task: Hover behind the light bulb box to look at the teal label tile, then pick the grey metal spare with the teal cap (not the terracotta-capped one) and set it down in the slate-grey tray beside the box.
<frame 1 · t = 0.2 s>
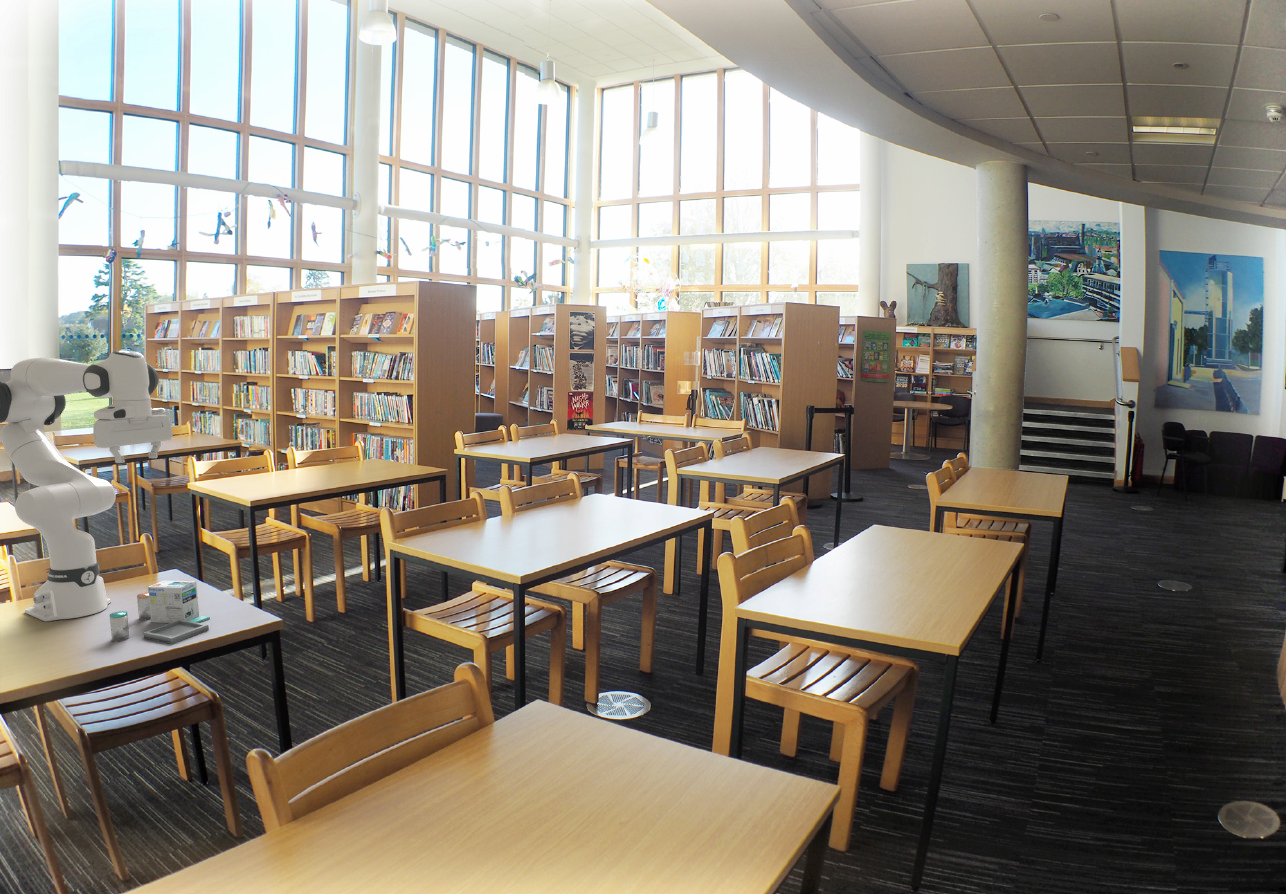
hand: (137, 460, 216), 47 cm above the table, fingers open, 8 cm apart
tray: (176, 633, 215), on the table
label tile: (198, 620, 225), on the table
light bulb box: (175, 620, 227), on the table
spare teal: (120, 638, 212), on the table
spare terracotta: (147, 617, 228), on the table
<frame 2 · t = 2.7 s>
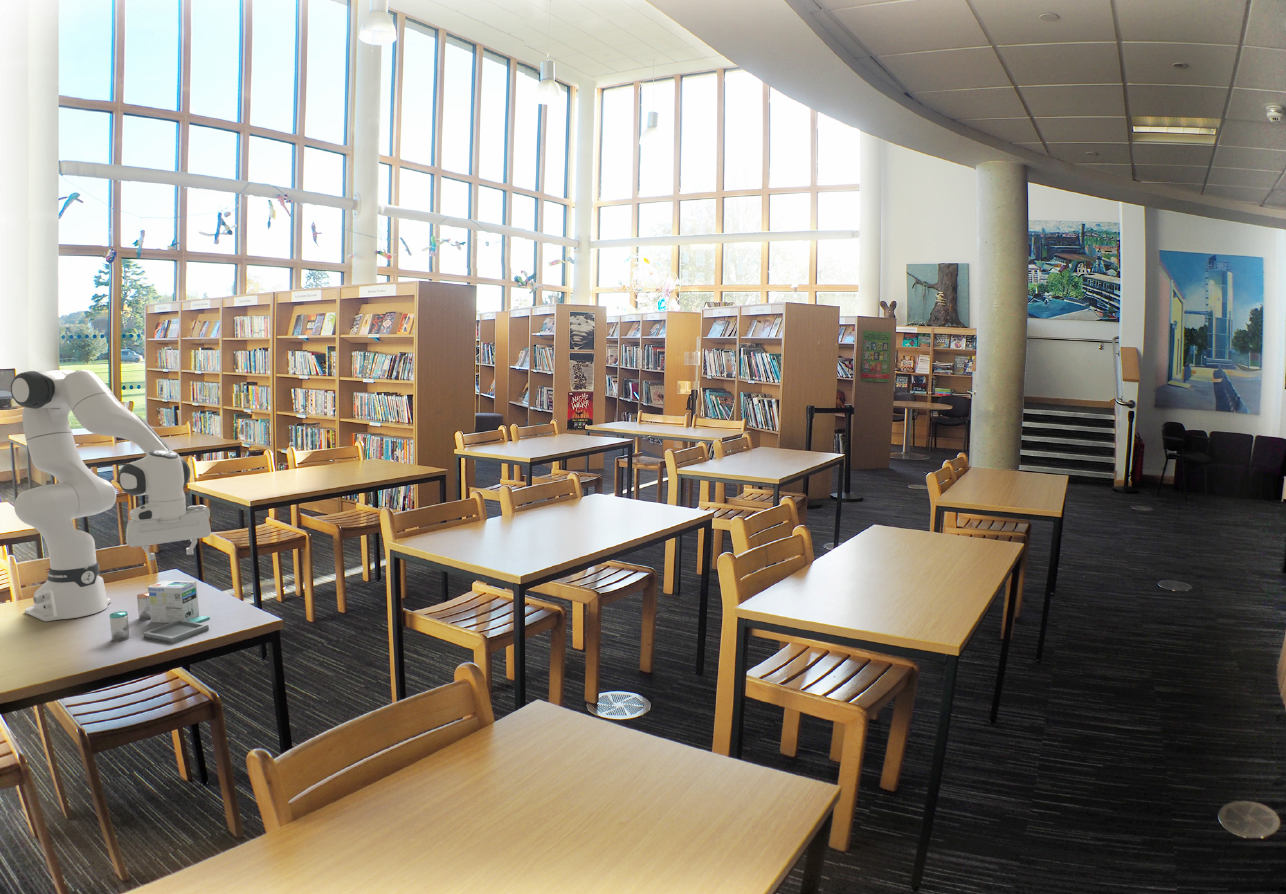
hand: (171, 557, 219), 20 cm above the table, fingers open, 8 cm apart
nothing on the table moved.
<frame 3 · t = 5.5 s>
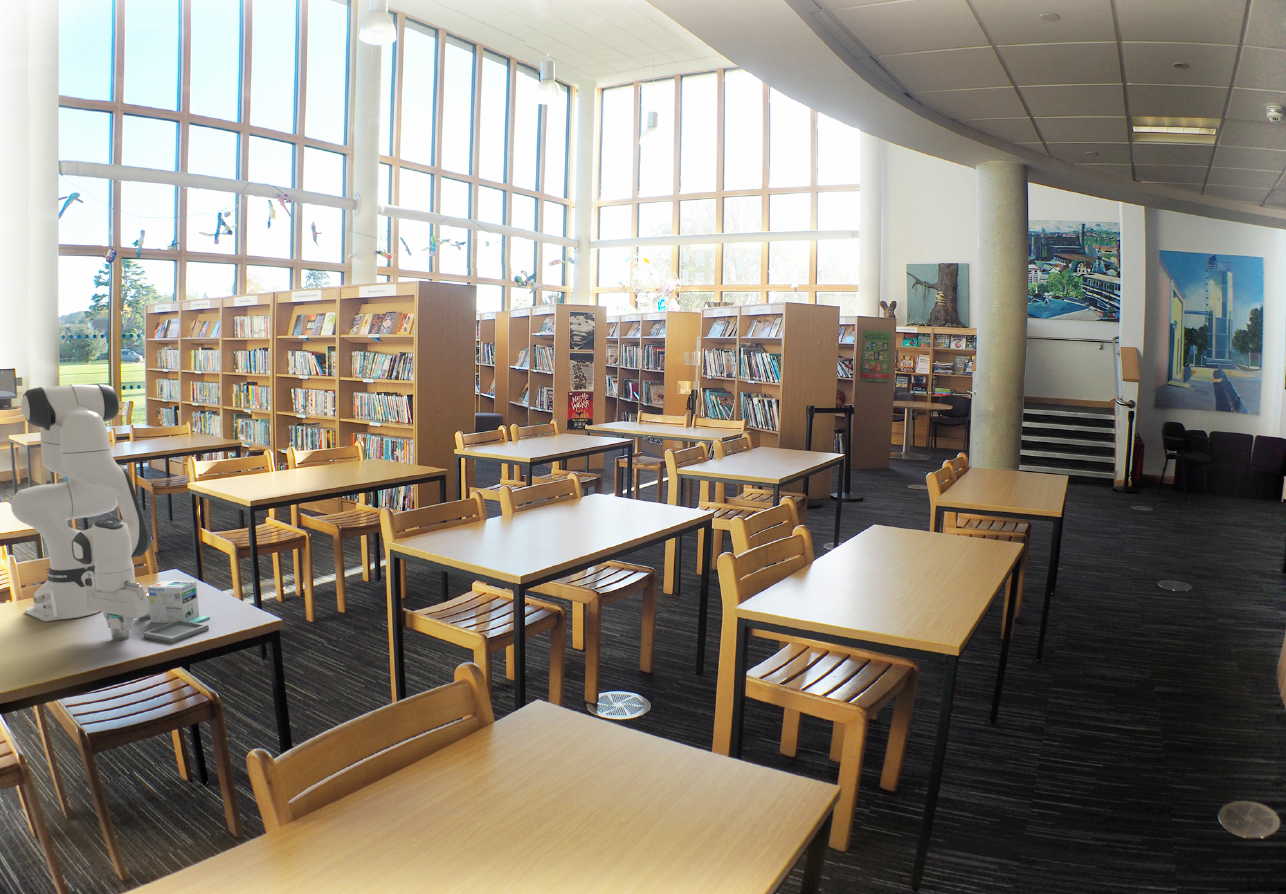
hand: (119, 629, 212), 3 cm above the table, fingers closed on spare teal, 4 cm apart
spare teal: (120, 638, 212), on the table, touching gripper
everything else where it was.
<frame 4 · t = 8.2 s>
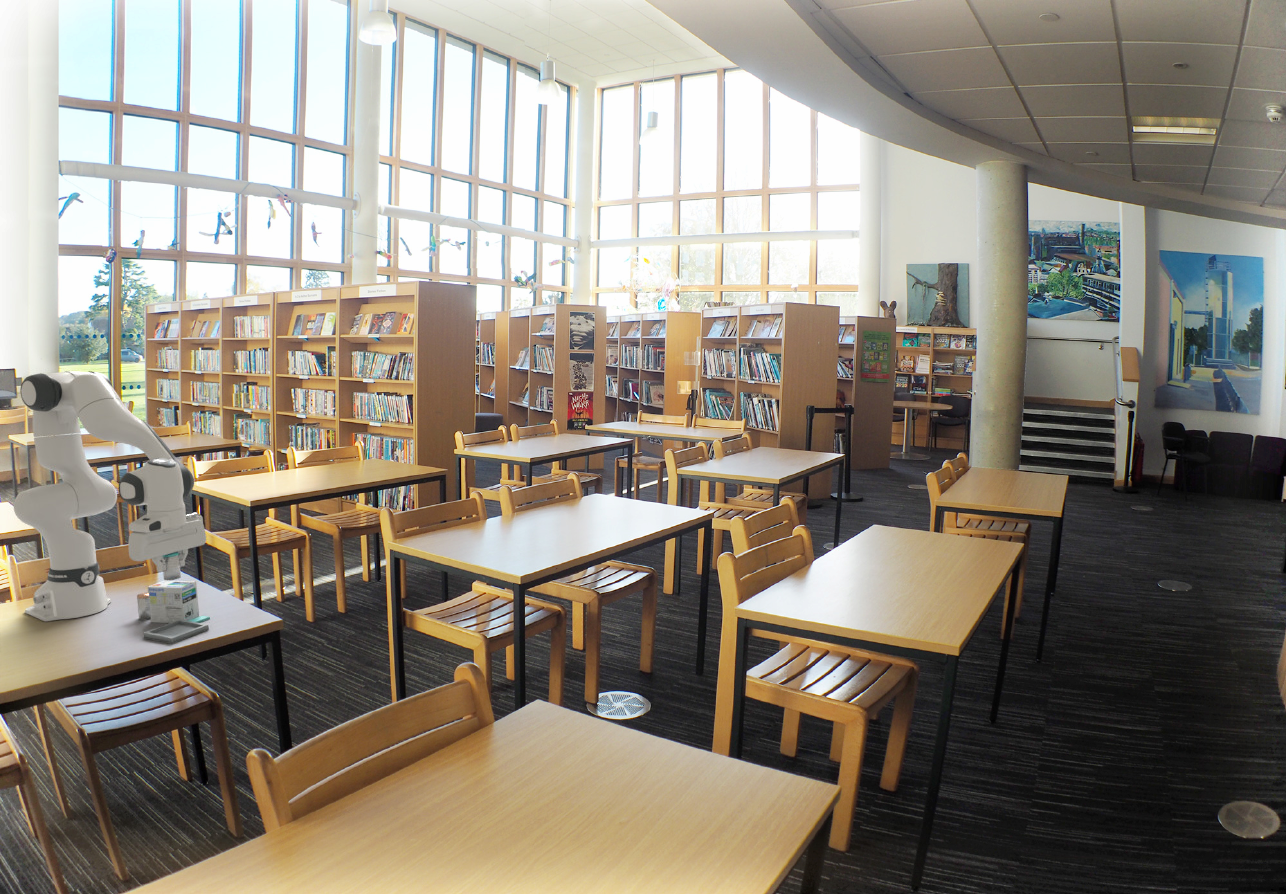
hand: (171, 568, 213), 18 cm above the table, fingers closed on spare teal, 4 cm apart
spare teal: (172, 578, 213), point 16 cm above the table, touching gripper
everything else where it was.
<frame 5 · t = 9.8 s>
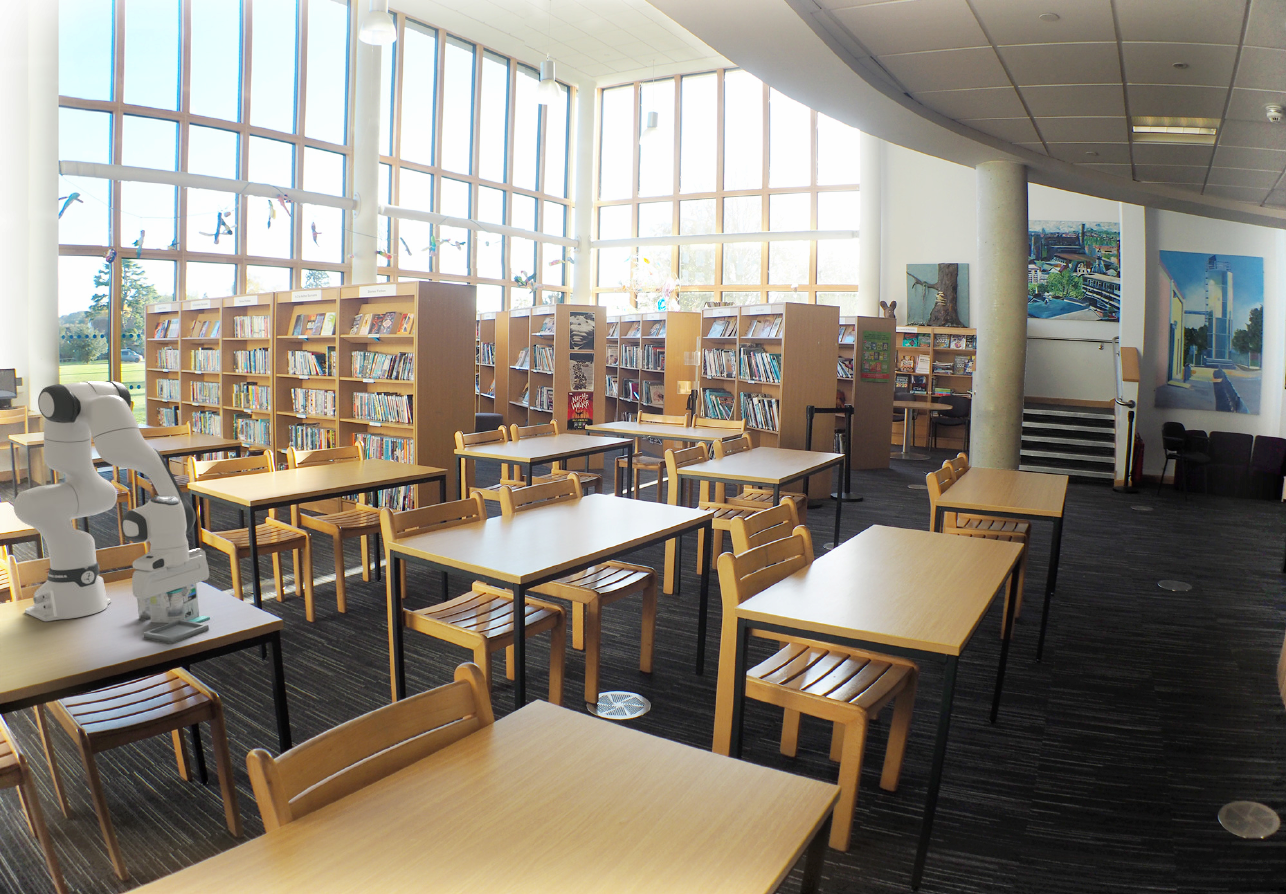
hand: (174, 605, 214), 8 cm above the table, fingers closed on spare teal, 4 cm apart
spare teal: (175, 614, 215), point 6 cm above the table, touching gripper
everything else where it was.
when the fingers open (5 cm above the table, at t = 10.9 s): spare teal drops 2 cm, resting on tray.
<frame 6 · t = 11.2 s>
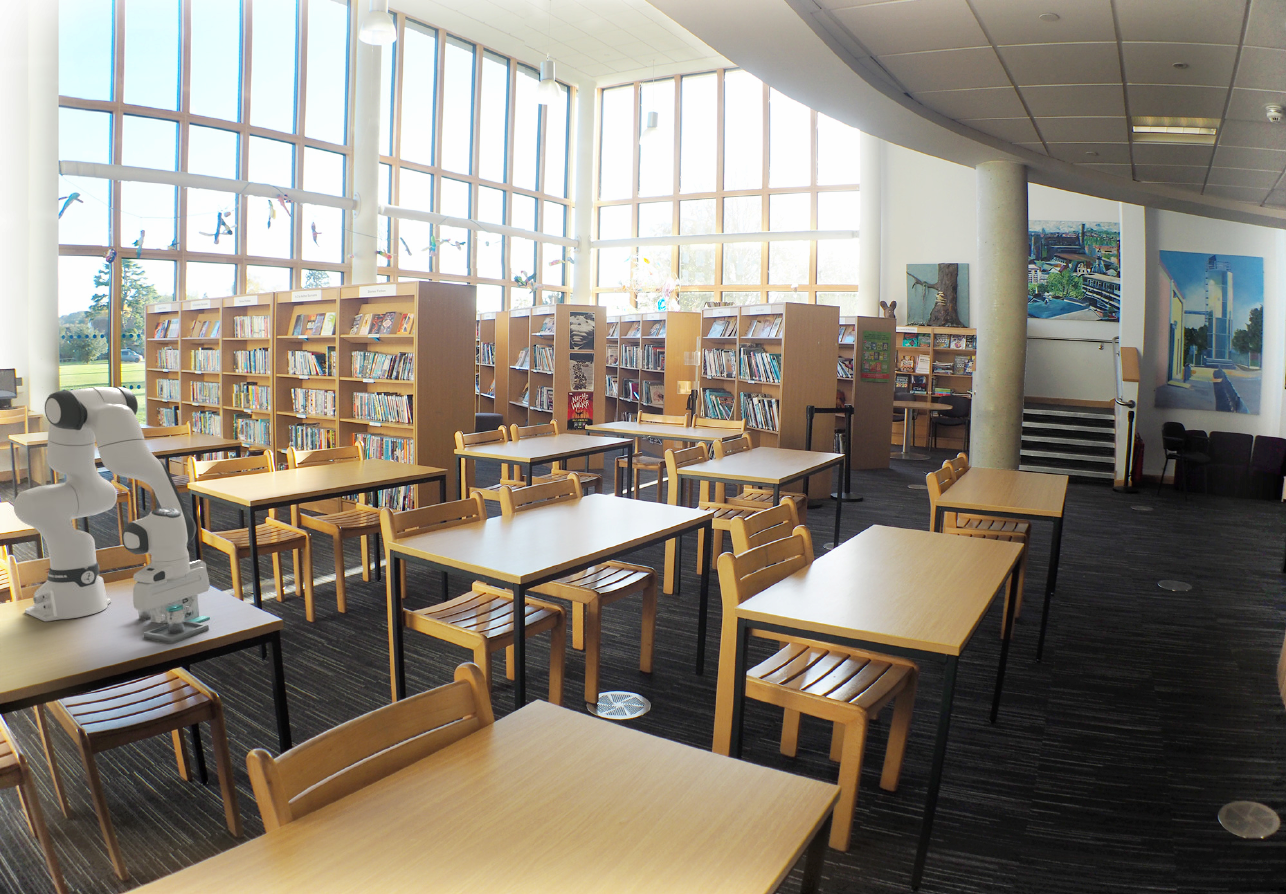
hand: (175, 616, 215), 5 cm above the table, fingers open, 7 cm apart
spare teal: (176, 631, 215), point 1 cm above the table, touching tray
everything else where it was.
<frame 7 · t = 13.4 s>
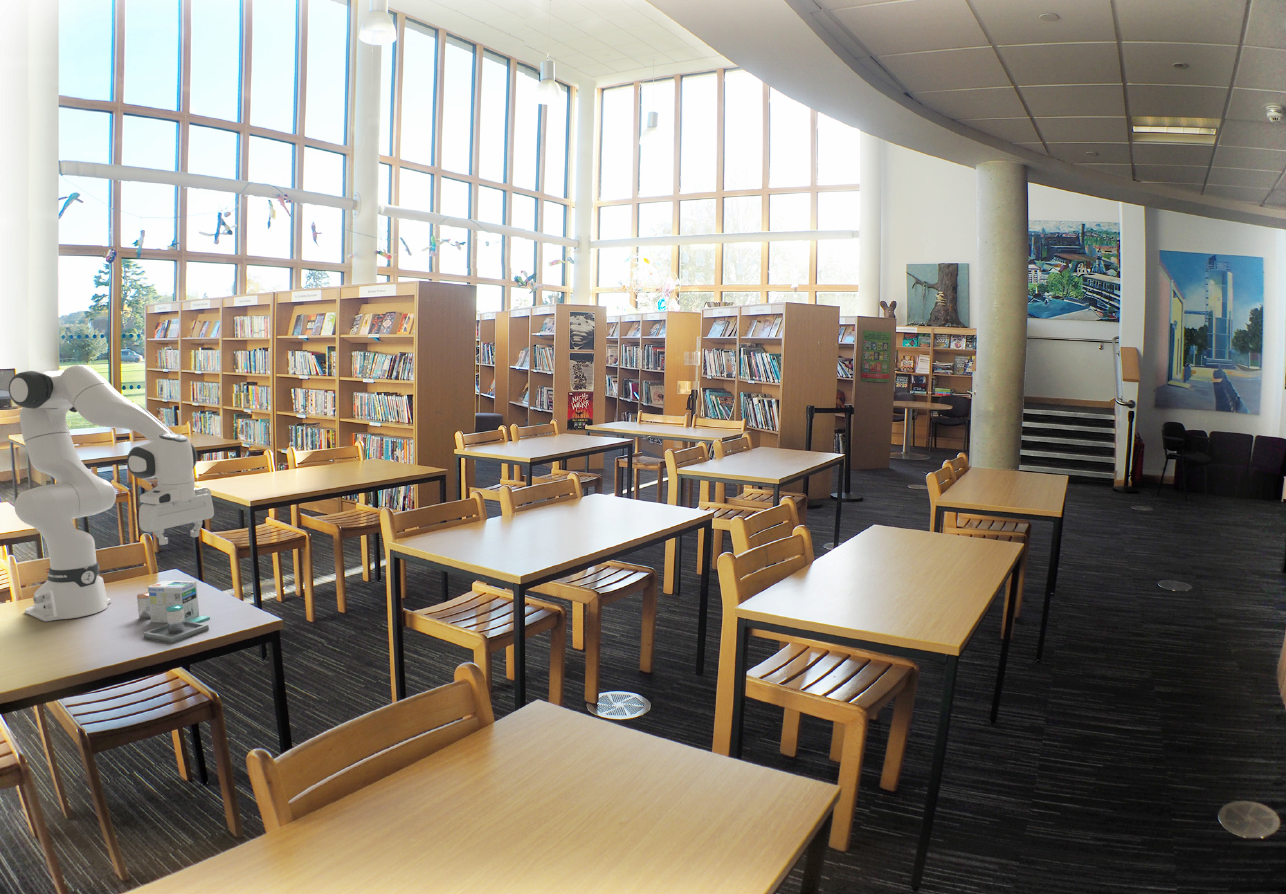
hand: (179, 540, 220), 24 cm above the table, fingers open, 8 cm apart
nothing on the table moved.
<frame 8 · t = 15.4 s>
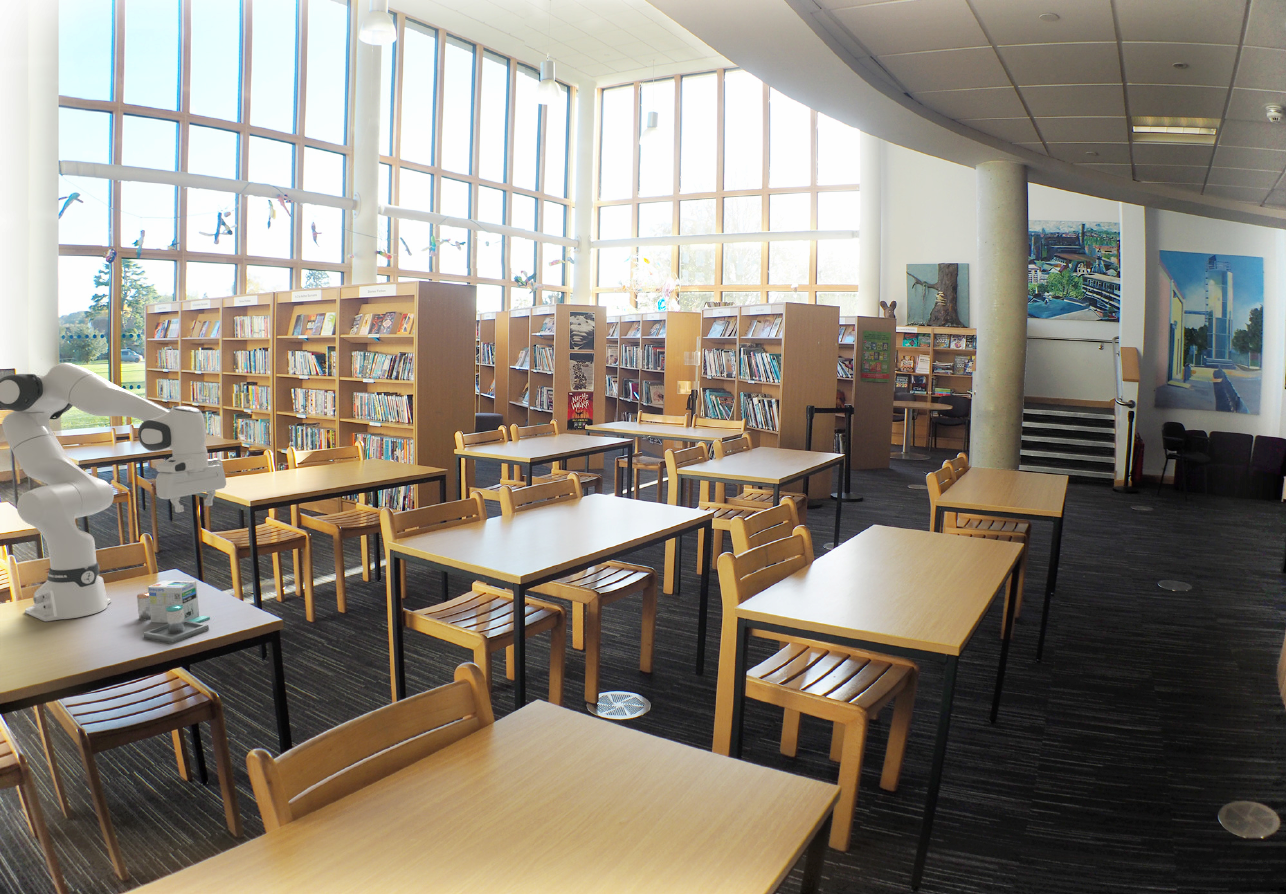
hand: (194, 508, 230), 31 cm above the table, fingers open, 8 cm apart
nothing on the table moved.
at the end: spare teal inside the target area on the tray (0.1 cm from its centre), point 0.6 cm above the tray's base; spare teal tilted 0°; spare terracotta moved 0.0 cm from its start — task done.
